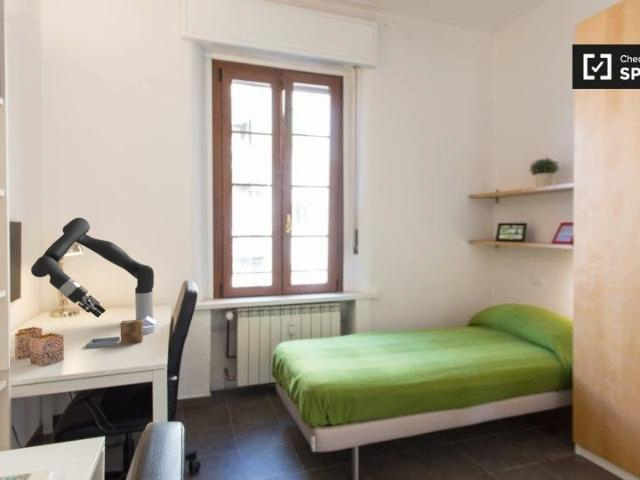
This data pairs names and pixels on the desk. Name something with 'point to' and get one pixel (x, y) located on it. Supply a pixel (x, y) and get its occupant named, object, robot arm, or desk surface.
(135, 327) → the walnut block
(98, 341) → the grey open-top box
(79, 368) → the desk surface
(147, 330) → the wedge on round base
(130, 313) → the desk surface
